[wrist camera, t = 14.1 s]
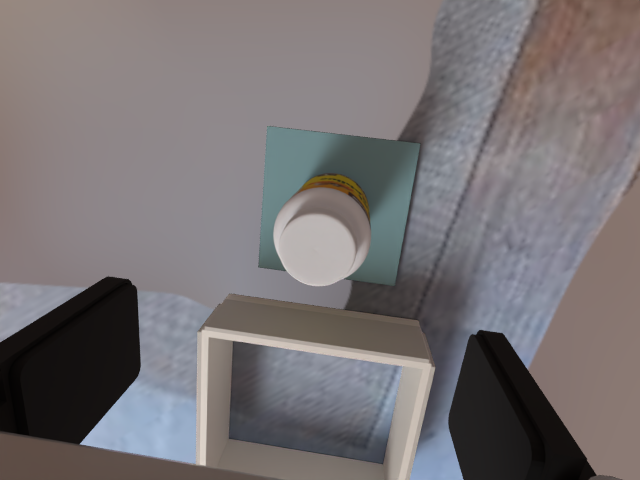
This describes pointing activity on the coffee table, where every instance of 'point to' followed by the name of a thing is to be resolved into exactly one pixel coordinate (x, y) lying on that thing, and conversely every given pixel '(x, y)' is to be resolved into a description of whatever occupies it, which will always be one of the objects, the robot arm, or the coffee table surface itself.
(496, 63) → the coffee table surface
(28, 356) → the robot arm
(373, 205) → the mat
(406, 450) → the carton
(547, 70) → the coffee table surface
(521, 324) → the coffee table surface
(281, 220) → the supplement bottle
